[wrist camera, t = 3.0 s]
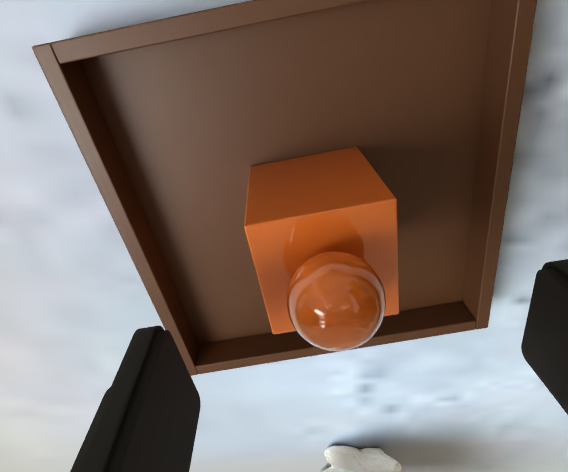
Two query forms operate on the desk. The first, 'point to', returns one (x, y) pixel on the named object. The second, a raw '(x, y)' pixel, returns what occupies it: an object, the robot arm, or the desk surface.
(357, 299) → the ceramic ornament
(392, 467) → the white lumpy piece
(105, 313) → the desk surface
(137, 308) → the desk surface
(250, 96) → the walnut tray
